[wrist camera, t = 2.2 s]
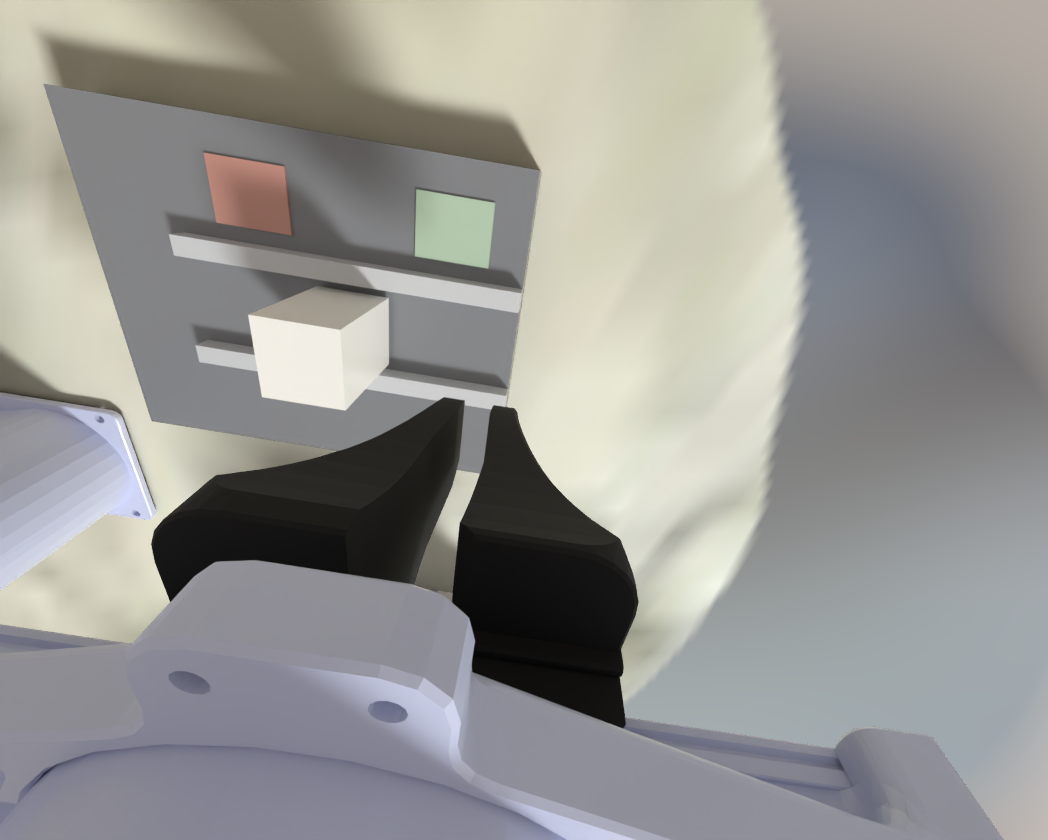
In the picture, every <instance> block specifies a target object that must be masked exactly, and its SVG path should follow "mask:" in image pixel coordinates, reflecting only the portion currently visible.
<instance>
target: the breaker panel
mask: <svg viewBox="0 0 1048 840" xmlns="http://www.w3.org/2000/svg"><path fill="white" fill-rule="evenodd" d="M44 87H45V90H46V93H47V96H48V99H49V102H50V106H51V109H52V112H53V115H54V118H55V121H56V124H57V127H58V131H59V134H60V137H61V140H62V143H63V146H64V149H65V152H66V155H67V159H68V162H69V165H70V168H71V171H72V174H73V177H74V180H75V183H76V187H77V190H78V193H79V196H80V199H81V202H82V205H83V208H84V212H85V215H86V218H87V221H88V224H89V227H90V230H91V233H92V236H93V240H94V243H95V246H96V249H97V252H98V255H99V258H100V261H101V265H102V268H103V271H104V274H105V277H106V280H107V283H108V286H109V289H110V293H111V296H112V299H113V302H114V305H115V308H116V311H117V314H118V318H119V321H120V324H121V327H122V330H123V333H124V336H125V339H126V342H127V346H128V349H129V352H130V355H131V358H132V361H133V364H134V367H135V370H136V374H137V377H138V380H139V383H140V386H141V389H142V392H143V395H144V399H145V402H146V405H147V408H148V411H149V414H150V417H151V420H152V421H155V422H161V423H167V424H173V425H180V426H186V427H192V428H199V429H205V430H211V431H217V432H224V433H230V434H236V435H242V436H249V437H255V438H261V439H267V440H274V441H280V442H286V443H293V444H299V445H305V446H311V447H318V448H324V449H330V450H336V451H340V450H344V449H347V448H350V447H352V446H355V445H357V444H360V443H362V442H365V441H367V440H370V439H372V438H374V437H377V436H379V435H381V434H383V433H385V432H387V431H389V430H390V429H392V428H394V427H396V426H398V425H400V424H402V423H403V422H405V421H407V420H409V419H410V418H412V417H414V416H415V415H417V414H418V413H420V412H422V411H423V410H425V409H426V408H428V407H429V406H431V405H432V404H434V403H435V402H437V401H438V400H440V399H442V398H443V397H447V398H453V399H459V400H465V405H464V416H463V427H462V438H461V448H460V459H459V463H458V466H457V470H462V471H468V472H474V473H480V472H481V469H482V466H483V463H484V456H485V448H486V440H487V432H488V424H489V416H490V412H491V409H492V407H493V405H496V406H502V407H507V400H508V394H509V387H510V380H511V373H512V367H513V360H514V353H515V346H516V340H517V333H518V326H519V319H520V313H521V306H522V299H523V292H524V286H525V279H526V272H527V265H528V259H529V252H530V245H531V238H532V232H533V225H534V218H535V211H536V204H537V198H538V191H539V184H540V177H541V171H540V170H535V169H529V168H523V167H518V166H512V165H506V164H501V163H495V162H489V161H483V160H478V159H472V158H466V157H460V156H455V155H449V154H443V153H438V152H432V151H426V150H420V149H415V148H409V147H403V146H397V145H392V144H386V143H380V142H375V141H369V140H363V139H357V138H352V137H346V136H340V135H334V134H329V133H323V132H317V131H311V130H306V129H300V128H294V127H289V126H283V125H277V124H271V123H266V122H260V121H254V120H248V119H243V118H237V117H231V116H226V115H220V114H214V113H208V112H203V111H197V110H191V109H185V108H180V107H174V106H168V105H163V104H157V103H151V102H145V101H140V100H134V99H128V98H122V97H117V96H111V95H105V94H100V93H94V92H88V91H82V90H77V89H71V88H65V87H59V86H54V85H48V84H44ZM316 286H321V287H327V288H333V289H339V290H344V291H350V292H356V293H362V294H368V295H374V296H380V297H386V298H389V365H388V366H387V367H386V368H385V369H384V370H383V371H382V372H381V373H380V374H379V375H378V376H377V377H376V378H375V380H374V381H373V382H372V383H371V384H370V385H369V386H368V387H367V388H366V389H365V390H364V391H363V392H362V393H361V395H360V396H359V397H358V398H357V399H356V400H355V401H354V402H353V403H352V404H351V405H350V406H349V407H348V408H347V409H346V411H345V410H339V409H332V408H326V407H320V406H314V405H308V404H301V403H295V402H289V401H283V400H277V399H270V398H264V397H262V394H261V388H260V382H259V377H258V371H257V365H256V359H255V353H254V347H253V341H252V335H251V329H250V323H249V317H248V314H251V313H253V312H256V311H258V310H261V309H263V308H265V307H268V306H270V305H273V304H275V303H278V302H280V301H282V300H285V299H287V298H290V297H292V296H295V295H297V294H299V293H302V292H304V291H307V290H309V289H311V288H314V287H316Z"/></svg>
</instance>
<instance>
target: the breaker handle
mask: <svg viewBox="0 0 1048 840" xmlns="http://www.w3.org/2000/svg"><path fill="white" fill-rule="evenodd" d="M248 317H249V323H250V329H251V335H252V341H253V347H254V353H255V359H256V365H257V371H258V377H259V382H260V388H261V394H262V397H264V398H270V399H277V400H283V401H289V402H295V403H301V404H308V405H314V406H320V407H326V408H332V409H339V410H345V411H346V409H347V408H348V407H349V406H350V405H351V404H352V403H353V402H354V401H355V400H356V399H357V398H358V397H359V396H360V395H361V393H362V392H363V391H364V390H365V389H366V388H367V387H368V386H369V385H370V384H371V383H372V382H373V381H374V380H375V378H376V377H377V376H378V375H379V374H380V373H381V372H382V371H383V370H384V369H385V368H386V367H387V366H388V365H389V298H386V297H380V296H374V295H368V294H362V293H356V292H350V291H344V290H339V289H333V288H327V287H321V286H316V287H314V288H311V289H309V290H307V291H304V292H302V293H299V294H297V295H295V296H292V297H290V298H287V299H285V300H282V301H280V302H278V303H275V304H273V305H270V306H268V307H265V308H263V309H261V310H258V311H256V312H253V313H251V314H248Z"/></svg>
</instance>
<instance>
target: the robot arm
mask: <svg viewBox="0 0 1048 840" xmlns="http://www.w3.org/2000/svg"><path fill="white" fill-rule="evenodd" d="M464 405H465V400H459V399H453V398H447V397H443V398H442V399H440V400H438V401H437V402H435V403H434V404H432V405H431V406H429V407H428V408H426V409H425V410H423V411H422V412H420V413H418V414H417V415H415V416H414V417H412V418H410V419H409V420H407V421H405V422H403V423H402V424H400V425H398V426H396V427H394V428H392V429H390V430H389V431H387V432H385V433H383V434H381V435H379V436H377V437H374V438H372V439H370V440H367V441H365V442H362V443H360V444H357V445H355V446H352V447H350V448H347V449H344V450H340V451H337V452H334V453H331V454H327V455H324V456H321V457H318V458H314V459H310V460H306V461H302V462H297V463H293V464H288V465H283V466H278V467H273V468H267V469H260V470H253V471H246V472H238V473H231V474H223V475H216V476H214V477H213V478H212V479H211V480H209V481H208V482H207V483H206V484H205V485H204V486H202V487H201V488H200V489H199V490H198V491H196V492H195V493H194V494H193V495H192V496H191V497H189V498H188V499H187V500H186V501H185V502H183V503H182V504H181V505H180V506H179V507H178V508H176V509H175V510H174V511H173V512H172V513H170V514H169V515H168V516H167V517H166V518H165V519H163V520H162V522H161V523H160V524H159V525H158V527H157V528H156V529H155V530H154V534H153V539H152V543H151V545H152V550H153V555H154V560H155V564H156V566H157V569H158V571H159V574H160V577H161V579H162V582H163V584H164V587H165V589H166V592H167V595H168V597H169V600H170V603H169V604H168V605H167V607H166V608H165V609H164V610H163V611H162V612H161V613H160V614H159V615H158V616H157V617H156V618H155V619H154V621H153V622H152V623H151V624H150V625H149V626H148V627H147V628H146V629H145V630H144V631H143V632H142V634H141V635H140V636H139V637H138V638H137V639H136V640H135V641H134V642H133V643H122V642H115V641H109V640H102V639H95V638H88V637H82V636H75V635H68V634H62V633H55V632H48V631H41V630H35V629H28V628H21V627H15V626H8V625H1V624H0V840H1004V839H1003V838H1002V837H1001V835H1000V834H999V832H998V831H997V829H996V828H995V826H994V825H993V823H992V822H991V821H990V819H989V818H988V817H987V815H986V813H985V812H984V810H983V809H982V808H981V806H980V805H979V803H978V802H977V800H976V799H975V797H974V796H973V795H972V793H971V792H970V790H969V789H968V787H967V786H966V784H965V783H964V782H963V780H962V779H961V778H960V776H959V774H958V773H957V771H956V770H955V769H954V767H953V766H952V764H951V763H950V761H949V760H948V759H947V757H946V756H945V754H944V753H943V751H942V750H941V748H940V747H939V745H938V744H937V743H936V741H935V740H934V738H933V737H930V736H928V735H926V734H920V733H913V732H906V731H900V730H893V729H887V728H880V727H860V728H856V729H853V730H851V731H849V732H848V733H846V734H845V735H844V736H843V737H842V738H841V739H840V740H839V742H838V743H837V745H836V747H835V748H827V747H821V746H814V745H808V744H801V743H794V742H787V741H781V740H774V739H767V738H761V737H754V736H747V735H740V734H734V733H726V732H720V731H713V730H707V729H700V728H693V727H686V726H680V725H673V724H666V723H660V722H652V721H646V720H640V719H633V718H626V717H625V713H624V707H623V698H622V691H621V684H620V677H621V676H622V674H623V660H622V653H621V648H622V645H623V643H624V641H625V638H626V636H627V634H628V632H629V629H630V627H631V625H632V622H633V620H634V618H635V615H636V611H637V606H638V597H637V590H636V584H635V580H634V576H633V572H632V569H631V567H630V564H629V561H628V558H627V556H626V553H625V550H624V548H623V545H622V543H621V540H620V539H619V538H618V537H616V536H615V535H613V534H612V533H610V532H609V531H608V530H606V529H605V528H603V527H602V526H600V525H599V524H597V523H596V522H594V521H593V520H591V519H590V518H589V517H587V516H586V515H585V514H584V513H583V512H581V511H580V510H579V509H578V508H576V507H575V506H574V505H573V504H572V503H571V502H570V501H569V500H568V499H567V498H566V497H565V496H564V495H563V494H562V493H561V492H560V491H559V490H558V489H557V488H556V487H555V486H554V485H553V484H552V482H551V481H550V480H549V478H548V477H547V476H546V474H545V473H544V472H543V470H542V469H541V467H540V465H539V464H538V462H537V461H536V459H535V457H534V455H533V454H532V452H531V450H530V448H529V446H528V444H527V441H526V439H525V437H524V435H523V432H522V429H521V427H520V424H519V420H518V415H517V411H516V410H515V409H514V408H508V407H502V406H496V405H493V407H492V409H491V412H490V416H489V424H488V432H487V440H486V448H485V456H484V463H483V466H482V469H481V472H480V475H479V478H478V481H477V484H476V487H475V490H474V492H473V495H472V497H471V500H470V502H469V505H468V507H467V509H466V511H465V514H464V516H463V518H462V520H461V522H460V527H459V537H458V546H457V556H456V566H455V575H454V585H453V595H452V602H451V601H450V600H449V599H447V598H446V597H445V596H444V595H442V594H439V593H437V592H434V591H431V590H428V589H425V588H422V587H419V586H416V585H414V583H415V579H416V576H417V573H418V569H419V566H420V563H421V560H422V557H423V554H424V552H425V549H426V546H427V544H428V542H429V539H430V537H431V535H432V532H433V530H434V528H435V525H436V523H437V521H438V518H439V516H440V514H441V511H442V509H443V507H444V504H445V502H446V499H447V497H448V495H449V492H450V490H451V487H452V485H453V481H454V477H455V474H456V470H457V466H458V463H459V459H460V448H461V438H462V427H463V416H464ZM105 514H112V515H118V516H125V517H131V518H137V519H144V520H150V519H152V518H153V517H155V516H156V510H155V507H154V504H153V502H152V499H151V496H150V493H149V490H148V488H147V485H146V482H145V479H144V476H143V474H142V471H141V468H140V465H139V462H138V460H137V457H136V454H135V451H134V449H133V446H132V443H131V440H130V437H129V435H128V432H127V429H126V426H125V423H124V421H123V418H122V416H121V415H120V414H119V413H117V412H116V411H113V410H108V409H102V408H96V407H89V406H83V405H77V404H71V403H64V402H58V401H52V400H45V399H39V398H33V397H27V396H20V395H14V394H8V393H2V392H0V591H1V590H2V589H4V588H5V587H7V586H8V585H9V584H11V583H12V582H13V581H15V580H16V579H18V578H19V577H20V576H22V575H23V574H24V573H26V572H27V571H28V570H30V569H31V568H33V567H34V566H35V565H37V564H38V563H39V562H41V561H42V560H44V559H45V558H46V557H48V556H49V555H50V554H52V553H53V552H55V551H56V550H57V549H59V548H60V547H61V546H63V545H64V544H66V543H67V542H68V541H70V540H71V539H72V538H74V537H75V536H77V535H78V534H79V533H81V532H82V531H83V530H85V529H86V528H88V527H89V526H90V525H92V524H93V523H94V522H96V521H97V520H99V519H100V518H101V517H103V516H104V515H105ZM619 676H620V677H619Z"/></svg>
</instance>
